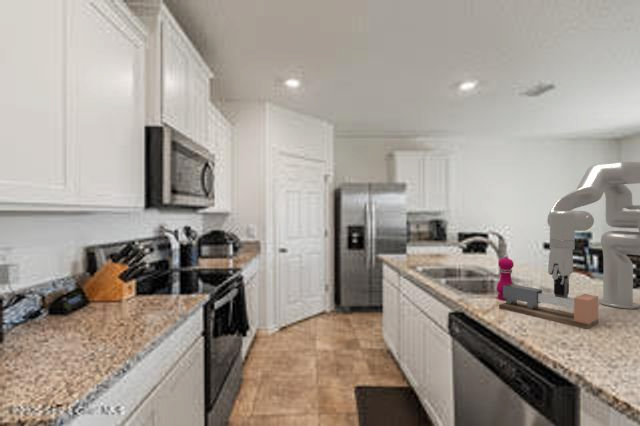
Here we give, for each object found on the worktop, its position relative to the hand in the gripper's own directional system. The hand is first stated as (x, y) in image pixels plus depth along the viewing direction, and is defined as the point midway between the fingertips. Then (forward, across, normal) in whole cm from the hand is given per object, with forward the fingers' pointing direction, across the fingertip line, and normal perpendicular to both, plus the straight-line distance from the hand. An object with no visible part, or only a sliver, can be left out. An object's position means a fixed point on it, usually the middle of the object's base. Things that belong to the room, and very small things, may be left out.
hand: (561, 293), depth 125 cm
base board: (+9, 0, -5) cm, 11 cm away
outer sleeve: (+8, 0, -14) cm, 16 cm away
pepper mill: (+9, -12, -26) cm, 30 cm away
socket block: (+8, 0, +8) cm, 11 cm away
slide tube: (+4, 0, -4) cm, 6 cm away
